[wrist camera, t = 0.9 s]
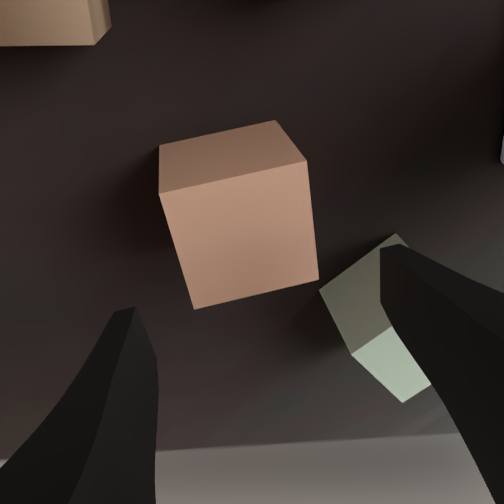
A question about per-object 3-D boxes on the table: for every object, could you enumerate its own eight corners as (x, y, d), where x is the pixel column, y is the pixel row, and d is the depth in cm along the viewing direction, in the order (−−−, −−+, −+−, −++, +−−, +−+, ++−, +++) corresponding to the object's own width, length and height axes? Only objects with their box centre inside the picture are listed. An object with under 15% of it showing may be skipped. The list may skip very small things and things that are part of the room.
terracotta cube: (275, 119, 19) (306, 160, 15) (288, 220, 22) (319, 279, 18) (159, 144, 19) (158, 193, 15) (187, 244, 22) (194, 309, 17)
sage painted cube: (394, 231, 23) (446, 288, 19) (435, 286, 26) (489, 346, 22) (318, 289, 24) (350, 354, 20) (364, 336, 27) (402, 402, 23)
